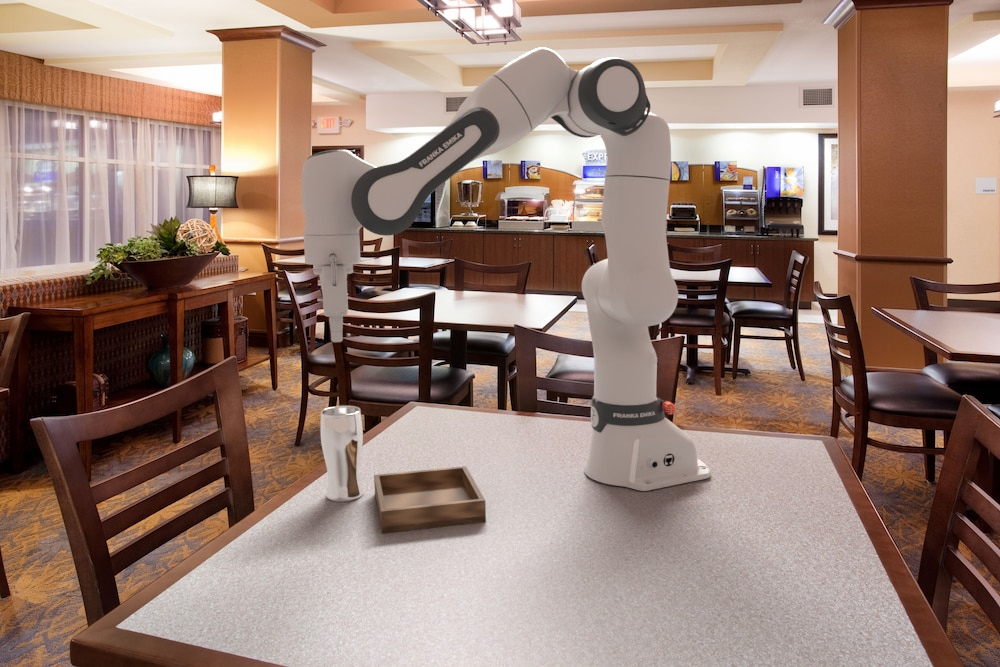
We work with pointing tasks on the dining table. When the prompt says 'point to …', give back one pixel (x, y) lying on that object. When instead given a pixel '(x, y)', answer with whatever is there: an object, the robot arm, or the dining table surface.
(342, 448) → the beer glass
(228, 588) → the dining table surface
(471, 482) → the walnut tray
